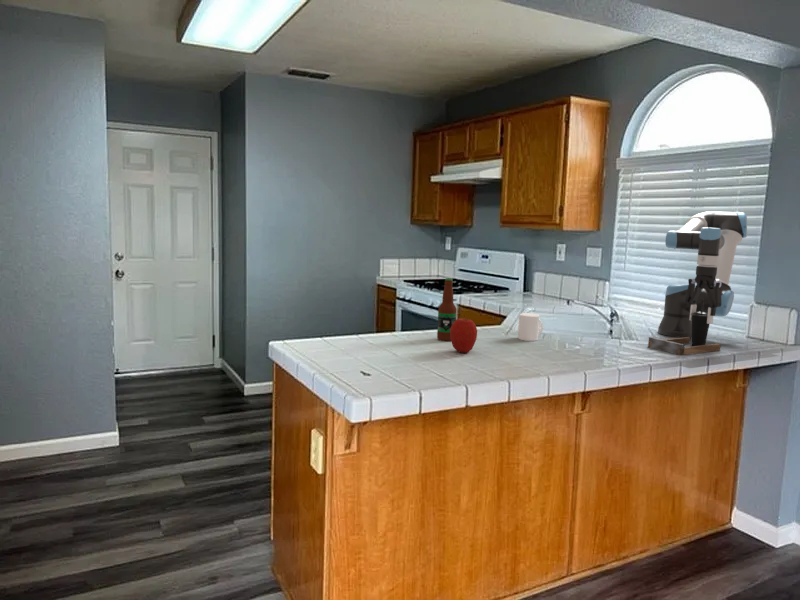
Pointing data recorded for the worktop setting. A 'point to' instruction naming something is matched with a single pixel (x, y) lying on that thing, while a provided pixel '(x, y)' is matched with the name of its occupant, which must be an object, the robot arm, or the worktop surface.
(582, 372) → the worktop surface
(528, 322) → the mug
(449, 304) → the bottle
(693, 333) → the drinking cup
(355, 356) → the worktop surface
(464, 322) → the apple
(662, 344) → the channel
